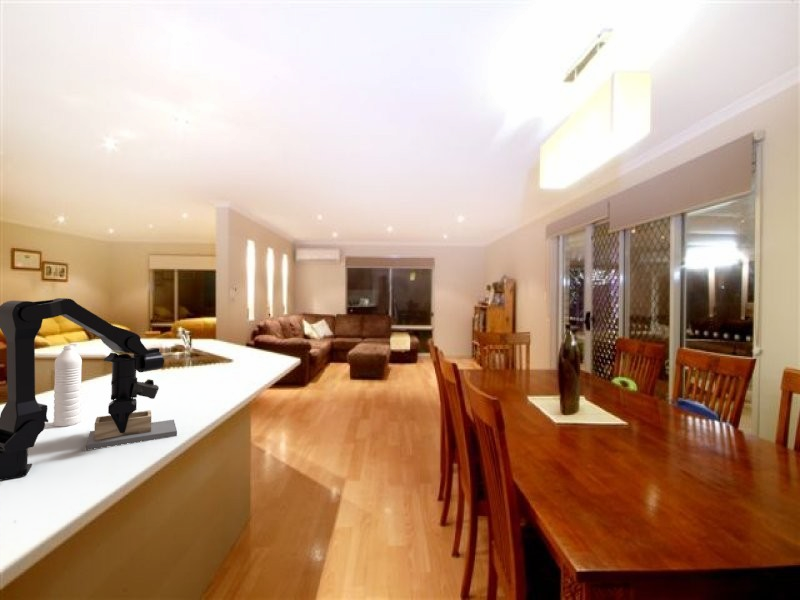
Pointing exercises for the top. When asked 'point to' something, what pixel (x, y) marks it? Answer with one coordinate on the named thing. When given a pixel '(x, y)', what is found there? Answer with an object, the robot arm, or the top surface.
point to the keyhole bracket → (136, 424)
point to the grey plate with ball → (135, 435)
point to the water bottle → (67, 387)
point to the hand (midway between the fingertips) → (123, 429)
